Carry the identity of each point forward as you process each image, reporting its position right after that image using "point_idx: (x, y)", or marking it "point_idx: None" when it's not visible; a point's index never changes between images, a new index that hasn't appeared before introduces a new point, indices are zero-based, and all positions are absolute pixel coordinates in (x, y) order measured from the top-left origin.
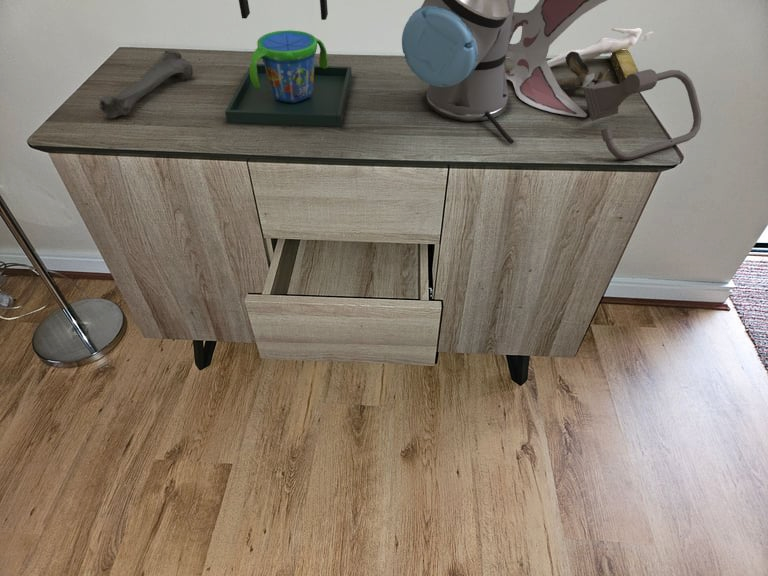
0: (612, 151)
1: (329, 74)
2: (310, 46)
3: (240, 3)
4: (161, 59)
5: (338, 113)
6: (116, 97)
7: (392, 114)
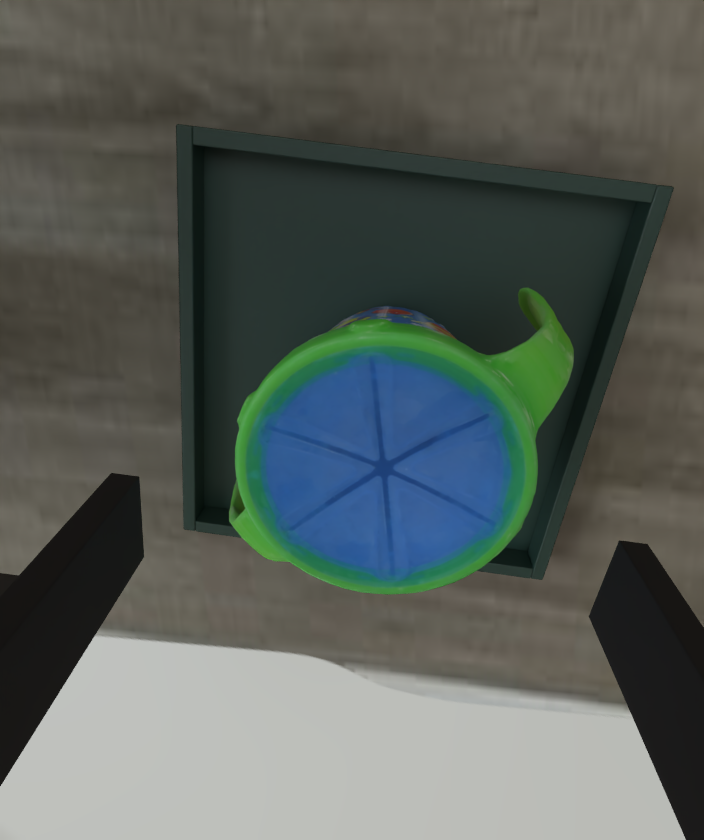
0: None
1: None
2: (255, 402)
3: (682, 606)
4: None
5: (184, 143)
6: None
7: (14, 227)
